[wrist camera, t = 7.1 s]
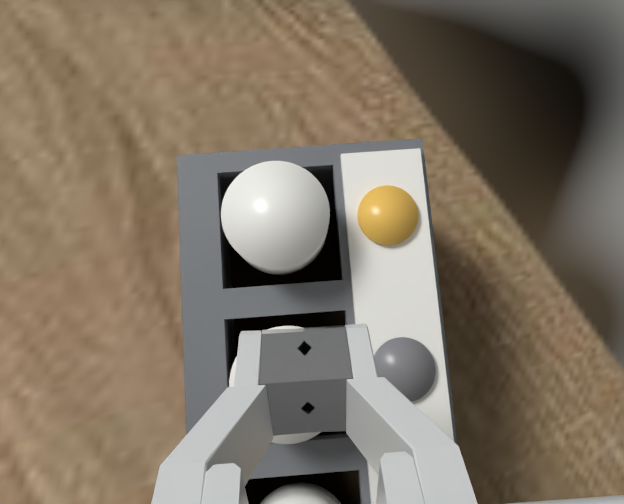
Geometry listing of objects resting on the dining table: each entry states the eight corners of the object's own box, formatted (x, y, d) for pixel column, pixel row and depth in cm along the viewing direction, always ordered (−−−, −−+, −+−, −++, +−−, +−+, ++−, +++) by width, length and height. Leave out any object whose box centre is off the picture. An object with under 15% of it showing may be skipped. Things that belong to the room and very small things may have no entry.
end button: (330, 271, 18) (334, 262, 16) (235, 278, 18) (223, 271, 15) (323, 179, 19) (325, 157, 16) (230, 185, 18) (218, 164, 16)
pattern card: (470, 610, 16) (476, 620, 15) (381, 619, 16) (383, 628, 15) (418, 151, 18) (421, 146, 18) (340, 156, 18) (341, 151, 18)
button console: (421, 525, 24) (478, 627, 16) (232, 542, 23) (193, 652, 16) (387, 194, 26) (422, 138, 18) (216, 206, 26) (176, 155, 18)
